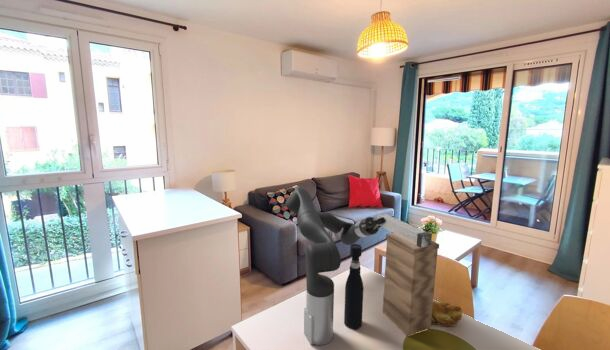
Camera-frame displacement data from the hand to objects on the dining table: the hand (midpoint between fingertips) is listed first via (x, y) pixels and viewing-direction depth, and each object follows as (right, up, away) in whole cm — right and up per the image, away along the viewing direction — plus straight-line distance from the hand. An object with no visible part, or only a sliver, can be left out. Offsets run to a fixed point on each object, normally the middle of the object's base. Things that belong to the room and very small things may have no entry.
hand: (388, 219), depth 111 cm
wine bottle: (-15, -37, -7) cm, 41 cm away
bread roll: (+18, -37, -5) cm, 41 cm away
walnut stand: (+5, -37, -5) cm, 38 cm away
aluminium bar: (+3, -5, -6) cm, 8 cm away
